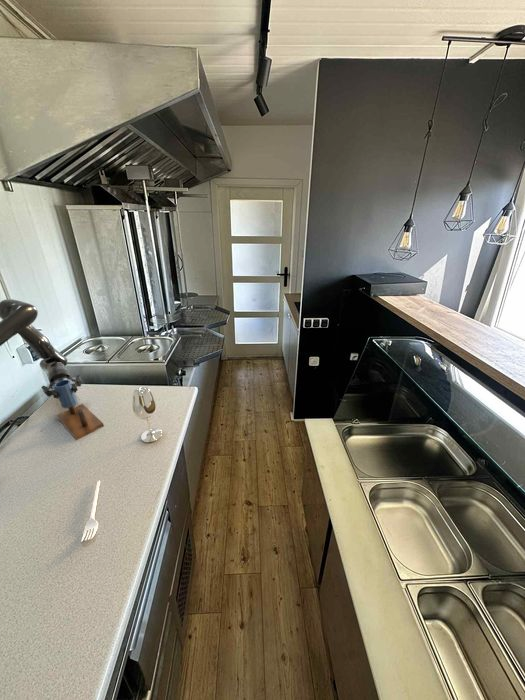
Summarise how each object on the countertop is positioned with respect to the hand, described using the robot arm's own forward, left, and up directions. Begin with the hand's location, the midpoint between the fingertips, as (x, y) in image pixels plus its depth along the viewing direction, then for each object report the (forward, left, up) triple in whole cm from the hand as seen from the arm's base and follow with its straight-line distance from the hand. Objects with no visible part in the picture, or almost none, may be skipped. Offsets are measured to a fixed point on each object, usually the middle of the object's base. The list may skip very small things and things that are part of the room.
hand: (66, 393), depth 112 cm
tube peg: (0, +2, -6) cm, 7 cm away
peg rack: (0, -4, -13) cm, 13 cm away
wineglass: (+14, -34, -13) cm, 39 cm away
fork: (-12, -48, -13) cm, 51 cm away
